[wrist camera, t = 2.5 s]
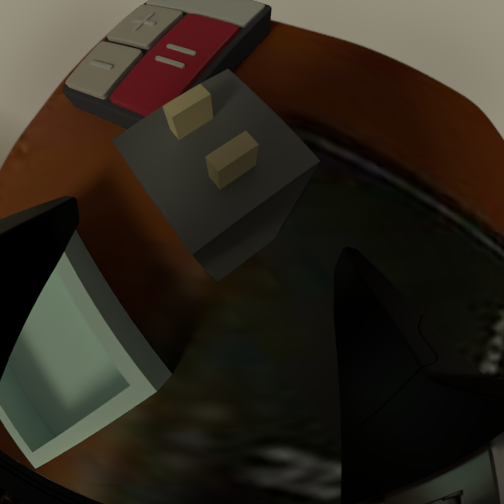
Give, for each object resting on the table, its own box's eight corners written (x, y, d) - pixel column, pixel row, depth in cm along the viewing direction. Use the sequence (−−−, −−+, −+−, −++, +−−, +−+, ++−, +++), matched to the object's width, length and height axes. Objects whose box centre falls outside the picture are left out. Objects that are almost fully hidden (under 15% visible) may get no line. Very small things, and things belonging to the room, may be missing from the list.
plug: (273, 238, 19) (332, 140, 7) (217, 282, 19) (184, 246, 7) (230, 186, 20) (228, 43, 8) (175, 226, 19) (97, 120, 7)
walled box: (172, 373, 17) (156, 391, 13) (61, 448, 16) (35, 468, 12) (73, 225, 19) (43, 209, 15) (-16, 318, 17) (-48, 318, 13)
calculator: (54, 85, 17) (168, -23, 19) (77, 111, 21) (175, 6, 23) (161, 126, 17) (274, -1, 18) (175, 155, 21) (270, 33, 23)
